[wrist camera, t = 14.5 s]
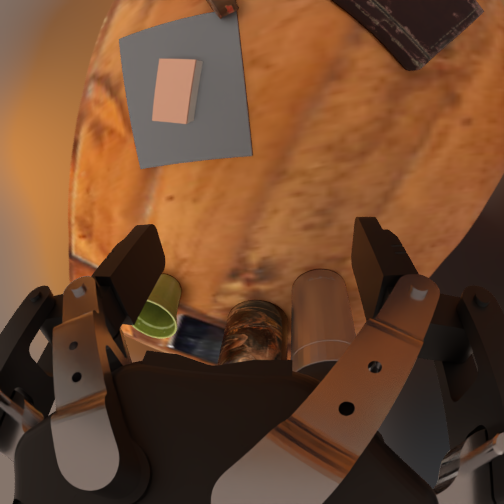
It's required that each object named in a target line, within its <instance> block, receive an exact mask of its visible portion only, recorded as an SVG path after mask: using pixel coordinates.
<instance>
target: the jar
mask: <svg viewBox="0 0 504 504" xmlns="http://www.w3.org/2000/svg"><path fill="white" fill-rule="evenodd" d="M287 349H288V319H287V316H286V315H285V313H284V312H283V311H282V310H281V309H280V308H279V307H278V306H276V305H274V304H272V303H269V302H265V301H259V300H252V301H246V302H242V303H240V304H238V305H236V306H235V307H234V308H233V309H232V310H231V311H230V313H229V316H228V319H227V323H226V328H225V332H224V336H223V341H222V345H221V350H220V355H219V360H218V365H223V364H230V363H236V362H242V361H248V360H287Z"/></svg>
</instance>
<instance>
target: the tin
mask: <svg viewBox="0 0 504 504" xmlns="http://www.w3.org/2000/svg"><path fill="white" fill-rule="evenodd" d="M206 1H207V2H208V3H209V5H210V6H211V8H212V9H213V10H214V12H215V13H216V15H217V16H218V17H219V18H220V19H221V18H222V17H224V16H226V15H228V14H230V13H233V12H235V11H236V10H238V8H239V7H238V6H237V4H236V0H206Z"/></svg>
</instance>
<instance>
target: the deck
mask: <svg viewBox="0 0 504 504" xmlns="http://www.w3.org/2000/svg"><path fill="white" fill-rule="evenodd" d="M202 64H203V61H199V60H194V59H159V65H158V72H157V79H156V87H155V95H154V104H153V114H152V121H160V122H171V123H181V124H187V123H190V122H192V121H194V115H195V108H196V101H197V94H198V88H199V81H200V75H201V69H202Z"/></svg>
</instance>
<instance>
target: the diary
mask: <svg viewBox="0 0 504 504" xmlns="http://www.w3.org/2000/svg"><path fill="white" fill-rule="evenodd" d="M333 1H334V2H335V3H336V4H338V5H339V6H340V7H342V8H343V9H344V10H346V11H347V12H348V13H349V14H351V15H352V16H353V17H354V18H356V19H357V20H358V21H359V22H360V23H361V24H363V25H364V26H365V27H366V28H367V29H368V30H369V31H371V32H372V33H373V34H374V35H375V36H376V37H377V38H378V39H379V40H380V41H381V42H382V43H383V44H384V46H385V47H386V48H387V49H388V50H389V51H390V52H391V53H392V54H393V55H394V56H395V58H396V59H397V60H398V61H399V62H400V63H401V64H402V66H403V67H404V68H405V69H406V70H409V71H413V70H418V69H421V68H422V67H423V66H424V65H425V64H427V63H428V62H429V61H430V60H431V59H432V58H433V57H434V56H435V55H436V54H437V53H439V52H440V51H441V50H442V49H443V48H444V47H445V46H447V45H448V44H449V43H450V42H451V41H452V40H453V39H455V38H456V37H457V36H458V35H459V34H460V33H461V32H463V31H464V30H465V29H466V28H467V27H468V26H469V25H470V24H471V23H473V22H474V21H475V20H476V19H477V18H478V17H479V16H480V15H481V14H482V13H483V12H484V11H483V9H482V8H481V7H480V5H479V4H478V3H477V1H476V0H333Z"/></svg>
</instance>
